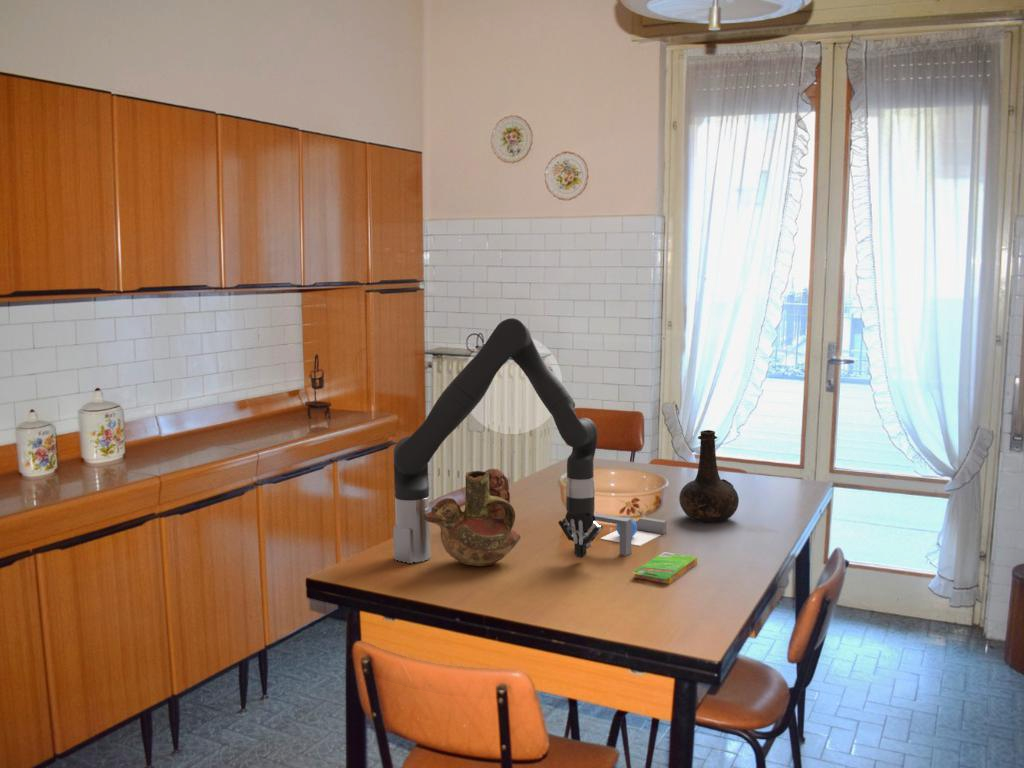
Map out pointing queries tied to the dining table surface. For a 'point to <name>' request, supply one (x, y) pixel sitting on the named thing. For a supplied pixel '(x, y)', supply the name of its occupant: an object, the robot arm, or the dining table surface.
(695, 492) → the glass bottle
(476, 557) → the ceramic vessel
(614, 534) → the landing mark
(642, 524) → the wall
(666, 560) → the game box
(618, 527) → the ball
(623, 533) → the bridge
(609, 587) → the dining table surface
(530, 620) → the dining table surface
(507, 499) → the wooden figurine
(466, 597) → the dining table surface
